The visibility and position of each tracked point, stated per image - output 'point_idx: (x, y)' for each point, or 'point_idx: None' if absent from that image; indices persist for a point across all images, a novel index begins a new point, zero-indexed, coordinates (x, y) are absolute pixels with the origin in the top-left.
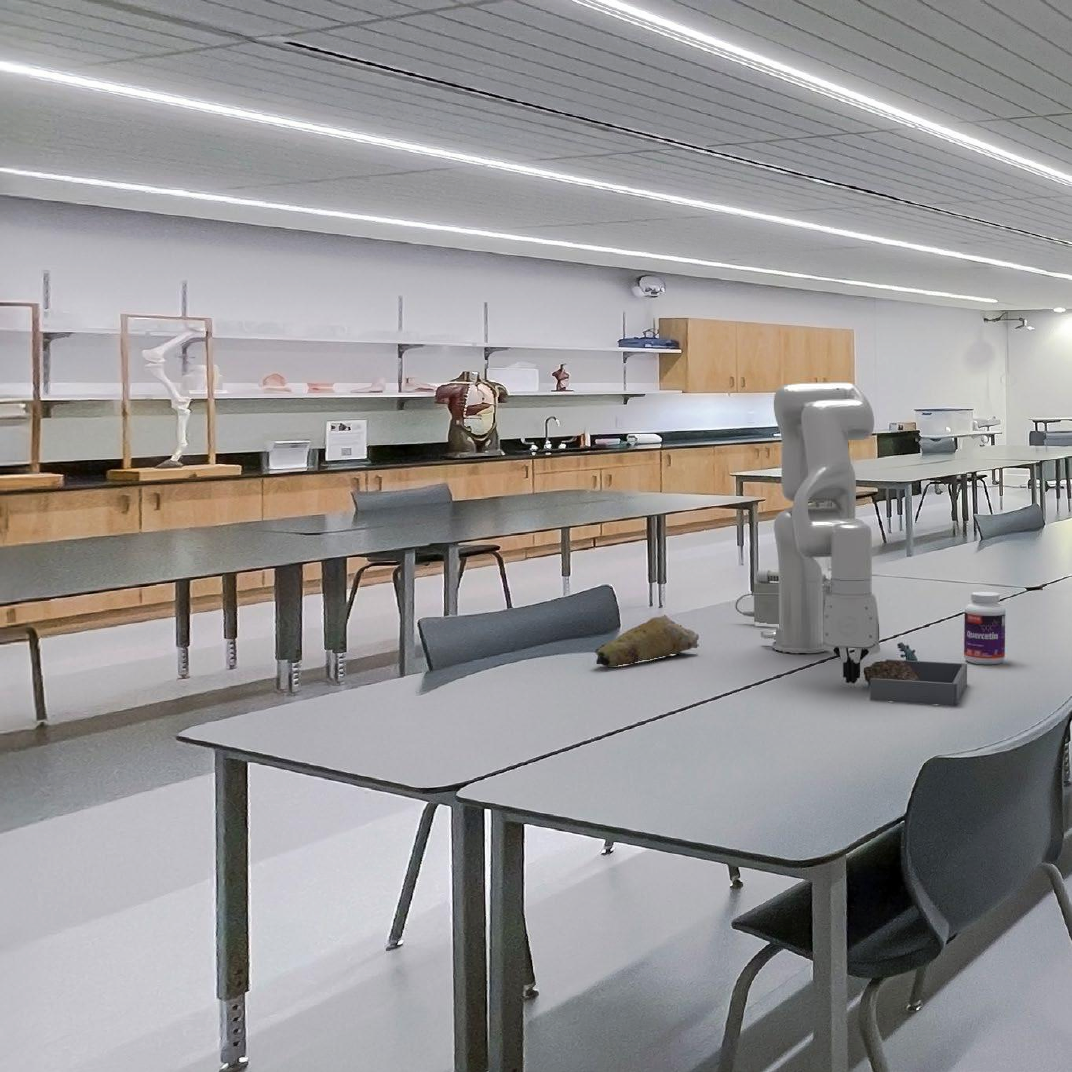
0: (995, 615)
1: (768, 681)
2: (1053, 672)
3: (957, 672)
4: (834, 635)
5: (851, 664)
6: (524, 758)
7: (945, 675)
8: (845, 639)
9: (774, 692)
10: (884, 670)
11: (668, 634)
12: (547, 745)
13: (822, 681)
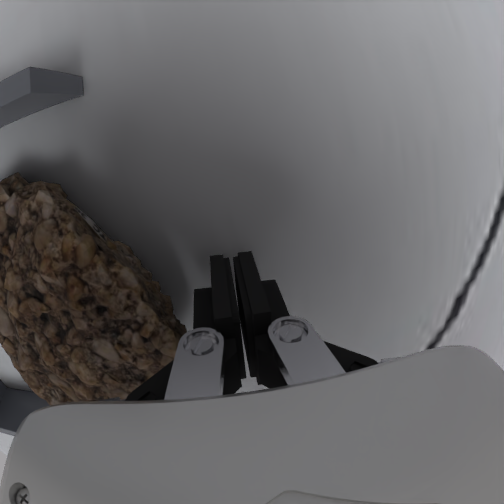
0: None
1: (482, 242)
2: (5, 451)
3: (5, 411)
4: (462, 438)
5: (230, 310)
6: None
7: (26, 407)
8: (323, 454)
9: (467, 99)
10: (67, 330)
11: None
12: None
13: (353, 312)
